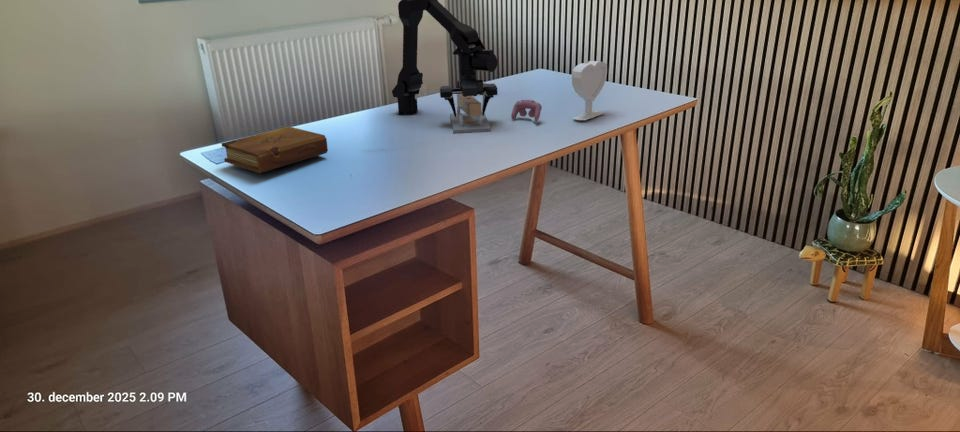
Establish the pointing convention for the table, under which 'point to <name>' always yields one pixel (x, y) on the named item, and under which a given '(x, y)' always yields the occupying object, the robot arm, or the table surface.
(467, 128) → the plate
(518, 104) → the video game controller
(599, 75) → the heart sculpture
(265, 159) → the diary
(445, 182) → the table surface
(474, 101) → the tan wooden bar
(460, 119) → the set of grey blocks
